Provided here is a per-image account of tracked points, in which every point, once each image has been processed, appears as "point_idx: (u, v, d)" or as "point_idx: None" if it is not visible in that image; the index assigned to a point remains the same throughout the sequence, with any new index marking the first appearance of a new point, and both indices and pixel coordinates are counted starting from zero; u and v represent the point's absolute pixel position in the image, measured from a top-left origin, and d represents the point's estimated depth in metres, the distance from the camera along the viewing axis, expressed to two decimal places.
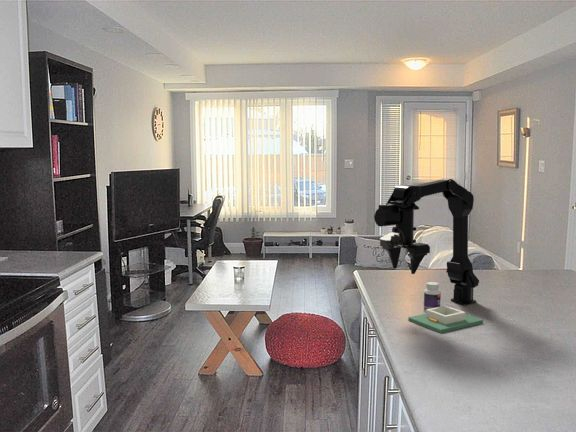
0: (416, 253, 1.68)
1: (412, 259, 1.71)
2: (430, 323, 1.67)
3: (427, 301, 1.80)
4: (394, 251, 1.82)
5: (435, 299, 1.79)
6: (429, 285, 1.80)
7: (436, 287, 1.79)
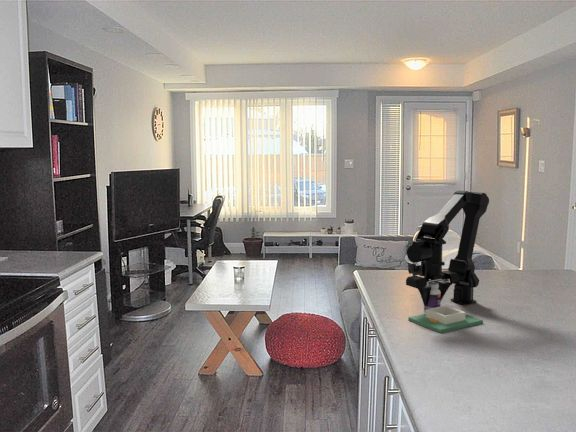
0: (406, 283, 1.79)
1: None
2: (430, 323, 1.67)
3: None
4: (439, 286, 1.83)
5: (435, 299, 1.79)
6: (429, 285, 1.80)
7: (436, 287, 1.79)
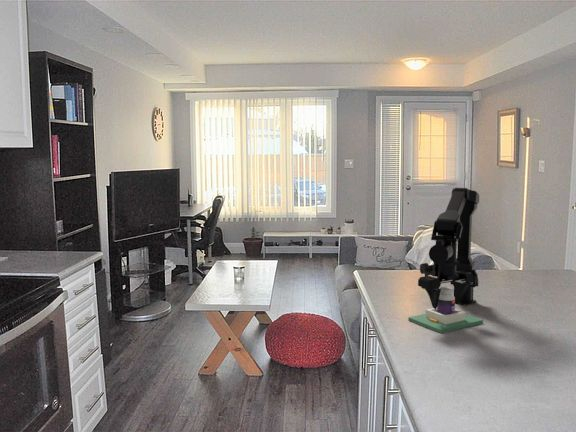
0: (418, 284, 1.68)
1: None
2: (430, 323, 1.67)
3: (441, 307, 1.69)
4: (457, 286, 1.73)
5: (449, 305, 1.68)
6: (443, 290, 1.69)
7: (450, 292, 1.69)
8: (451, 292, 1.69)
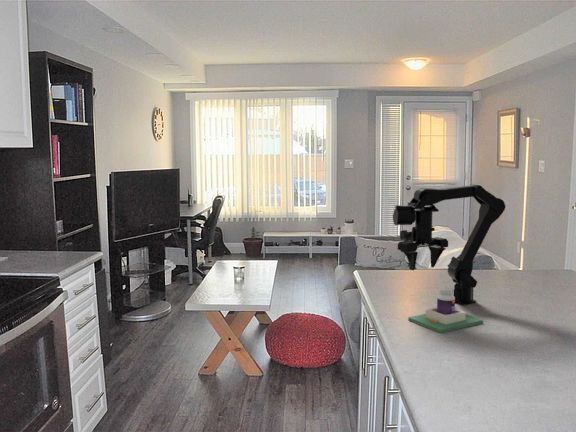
0: None
1: None
2: (430, 323, 1.67)
3: (441, 307, 1.69)
4: (433, 250, 1.92)
5: (449, 305, 1.68)
6: (443, 290, 1.69)
7: (450, 292, 1.69)
8: (451, 292, 1.69)
